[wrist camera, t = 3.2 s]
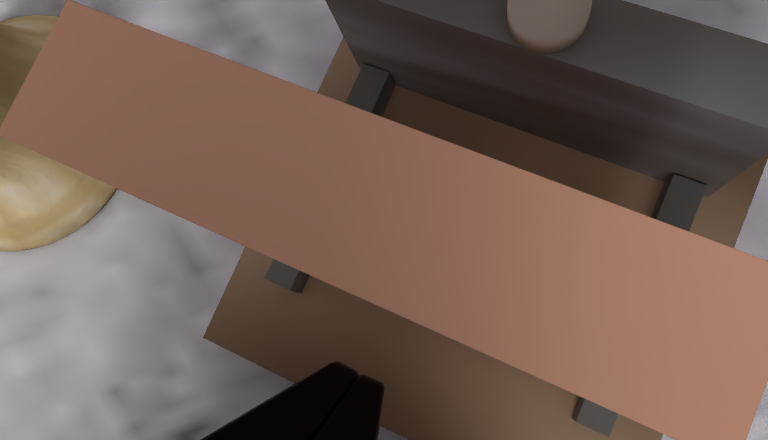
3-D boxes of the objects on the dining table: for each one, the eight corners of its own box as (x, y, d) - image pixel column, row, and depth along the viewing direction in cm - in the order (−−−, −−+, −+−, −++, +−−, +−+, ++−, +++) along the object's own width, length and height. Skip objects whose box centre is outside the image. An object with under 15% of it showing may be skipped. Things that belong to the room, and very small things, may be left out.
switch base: (612, 531, 17) (683, 647, 10) (220, 338, 20) (79, 332, 13) (752, 164, 18) (898, 58, 11) (363, 30, 21) (300, -117, 14)
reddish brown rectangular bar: (568, 383, 16) (736, 465, 5) (321, 273, 18) (-3, 134, 6) (590, 327, 16) (805, 276, 5) (344, 223, 18) (66, -1, 7)
